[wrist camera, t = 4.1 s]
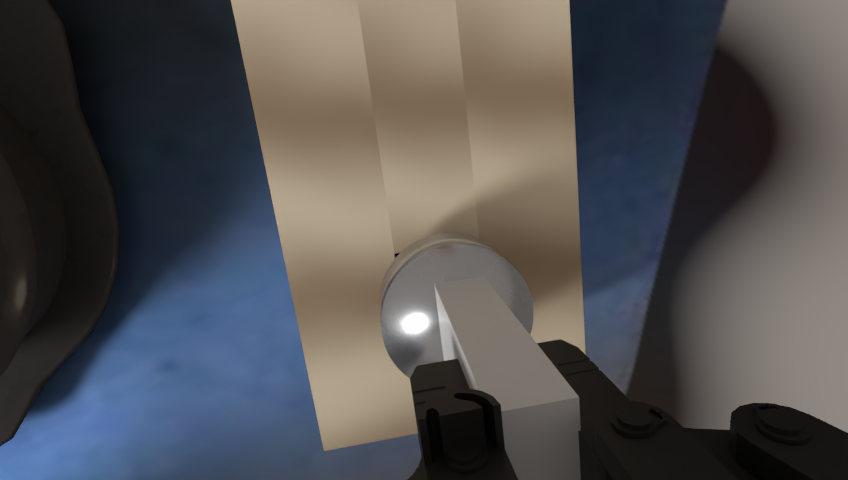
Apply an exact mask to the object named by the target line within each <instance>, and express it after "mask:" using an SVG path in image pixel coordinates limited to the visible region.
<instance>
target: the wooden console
mask: <svg viewBox="0 0 848 480" xmlns="http://www.w3.org/2000/svg"><path fill="white" fill-rule="evenodd" d="M231 3H232V8H233V13H234V18H235V23H236V28H237V32H238V37H239V42H240V47H241V52H242V57H243V61H244V66H245V71H246V76H247V81H248V86H249V91H250V95H251V100H252V105H253V110H254V115H255V120H256V124H257V129H258V134H259V139H260V144H261V149H262V153H263V158H264V163H265V168H266V173H267V178H268V183H269V187H270V192H271V197H272V202H273V207H274V212H275V216H276V221H277V226H278V231H279V236H280V241H281V245H282V250H283V255H284V260H285V265H286V270H287V275H288V279H289V284H290V289H291V294H292V299H293V304H294V308H295V313H296V318H297V323H298V328H299V333H300V337H301V342H302V347H303V352H304V357H305V362H306V367H307V371H308V376H309V381H310V386H311V391H312V396H313V400H314V405H315V410H316V415H317V420H318V425H319V429H320V434H321V439H322V444H323V449H324V451H328V450H333V449H339V448H344V447H349V446H355V445H360V444H365V443H370V442H376V441H381V440H386V439H392V438H397V437H402V436H408V435H413V434H418V430H417V424H416V417H415V410H414V403H413V397H412V390H411V383H410V378H408V377H407V376H406V375H404V374H403V373H402V372H401V371H400V370H399V369H398V368H397V366H396V365H395V364H394V363H393V361H392V360H391V358H390V356H389V354H388V353H387V350H386V348H385V345H384V342H383V337H382V331H381V318H380V305H379V297H380V289H381V284H382V281H383V278H384V276H385V274H386V272H387V269H388V268H389V266H390V265H391V263H392V262H393V260H394V259H395V255H394V254H396V253H401V252H402V251H403V250H404V249H405V248H406V247H408V246H409V245H411V244H412V243H414V242H416V241H418V240H420V239H422V238H424V237H427V236H430V235H434V234H439V233H448V232H450V233H462V234H467V235H470V236H473V237H476V238H478V239H480V240H482V241H484V242H486V243H487V244H489V245H490V246H491V247H493V248H494V249H495V250H496V251H497V252H498V253H499V254H500V255H501V256H503V257H504V258H505V259H506V260H507V261H508V262H509V263H510V264H511V265H512V266H514V267H515V269H516V270H517V271H518V272H519V273H520V274H521V276H522V277H523V279H524V281H525V282H526V284H527V286H528V289H529V291H530V294H531V298H532V302H533V317H534V318H533V326H532V331H531V334H530V336H531V337H532V338H533V339H534V341H535V342H536V343H542V342H547V341H553V340H559V339H561V340H564V341H566V342H568V343H570V344H572V345H574V346H576V347H578V348H579V349H580V350H581V351H582V352H583V353H584V354H585V355H586V353H585V331H584V309H583V287H582V266H581V244H580V222H579V200H578V179H577V157H576V135H575V113H574V92H573V70H572V48H571V26H570V4H569V0H231Z"/></svg>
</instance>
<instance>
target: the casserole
mask: <svg viewBox="0 0 848 480" xmlns="http://www.w3.org/2000/svg"><path fill="white" fill-rule="evenodd" d="M119 240H120V226H119V221H118V215H117V209H116V203H115V197H114V192H113V188H112V186H111V183H110V181H109V178H108V175H107V173H106V170H105V168H104V165H103V163H102V160H101V158H100V155H99V153H98V150H97V148H96V145H95V143H94V140H93V138H92V135H91V133H90V130H89V128H88V126H87V123H86V121H85V118H84V116H83V113H82V111H81V106H80V101H79V95H78V90H77V84H76V79H75V73H74V67H73V63H72V59H71V54H70V50H69V46H68V42H67V38H66V33H65V29H64V25H63V23H62V21H61V20H60V18H59V16H58V15H57V13H56V12H55V10H54V9H53V7H52V6H51V4H50V3H49V1H48V0H0V446H1V445H3V444H4V443H6V442H8V441H9V440H11V439H12V438H13V437H14V435H15V434H16V432H17V430H18V429H19V427H20V425H21V423H22V422H23V420H24V418H25V417H26V415H27V413H28V411H29V410H30V408H31V406H32V405H33V403H34V401H35V399H36V398H37V396H38V394H39V393H40V391H41V389H42V387H43V386H44V384H45V383H46V382H47V380H48V379H49V378H50V377H51V376H52V375H53V374H54V373H55V372H56V371H57V370H58V369H59V367H60V366H61V365H62V364H63V363H64V362H65V361H66V360H67V359H68V358H69V357H70V355H71V354H72V353H73V352H74V351H75V350H76V349H77V348H78V347H79V346H80V344H81V343H82V342H83V341H84V340H85V339H86V338H87V337H88V336H89V335H90V333H91V332H92V331H93V329H94V327H95V325H96V323H97V322H98V320H99V318H100V316H101V314H102V313H103V311H104V309H105V307H106V305H107V303H108V302H109V298H110V295H111V291H112V288H113V284H114V280H115V277H116V273H117V270H118V263H119Z"/></svg>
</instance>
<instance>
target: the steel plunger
mask: <svg viewBox="0 0 848 480" xmlns="http://www.w3.org/2000/svg"><path fill="white" fill-rule="evenodd" d="M481 276H484V277H485V279H486V280H487V281H488V282H489V284H490V285H491V286H492V287H493V289H494V290H495V291H496V293H497V294H498V295H499V296H500V298H501V299H502V300H503V301H504V303H505V304H506V305H507V306H508V308H509V309H510V310H511V312H512V313H513V314H514V315H515V317H516V318H517V319H518V320H519V322H520V323H521V324H522V325H523V327H524V328H525V329H526V331H527V332H528V333H529V334H531V331H532V326H533V318H534V317H533V302H532V298H531V294H530V291H529V289H528V286H527V284H526V282H525V281H524V279H523V277H522V276H521V274H520V273H519V272H518V271H517V270H516V269H515V267H514V266H512V265H511V264H510V263H509V262H508V261H507V260H506V259H505V258H504V257H503V256H501V255H500V254H499V253H498V252H497V251H496V250H495V249H494V248H493V247H491V246H490V245H489V244H487V243H486V242H484V241H482V240H480V239H478V238H476V237H473V236H470V235H467V234H462V233H450V232H448V233H439V234H434V235H430V236H427V237H424V238H422V239H420V240H418V241H416V242H414V243H412V244H411V245H409V246H408V247H406V248H405V249H404V250H403V251H402V252H401V253H400V254H399V255H398V256H397V257H396V258H395V259H394V260H393V262H392V263H391V265H390V266H389V268H388V269H387V272H386V274H385V276H384V278H383V281H382V284H381V289H380V297H379V305H380V318H381V331H382V337H383V342H384V345H385V348H386V350H387V353H388V354H389V356H390V358H391V360H392V361H393V363H394V364H395V365H396V366H397V368H398V369H399V370H400V371H401V372H402V373H403V374H404V375H406V376H407V377H408V378H410V377H411V375H412V374H413V372H414V370H415V368H416V366H418V365H424V364H429V363H435V362H441V361H444V357H443V349H442V342H441V334H440V326H439V318H438V310H437V302H436V294H435V286H434V284H437V283H444V282H450V281H456V280H463V279H469V278H475V277H481Z"/></svg>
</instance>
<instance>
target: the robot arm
mask: <svg viewBox="0 0 848 480" xmlns="http://www.w3.org/2000/svg"><path fill="white" fill-rule="evenodd" d="M434 286H435V294H436V302H437V310H438V318H439V326H440V334H441V342H442V349H443V357H444V361H441V362H435V363H429V364H424V365H418V366H416V368H415V370H414V372H413V374H412V375H411V377H410V383H411V390H412V397H413V403H414V410H415V417H416V424H417V430H418V437H419V443H420V449H421V455H422V458H421V461H420V464H419V467H418V468H417V469H416V471H415V472H414V474H413V475H412V476H411V477H410V478H409V479H408V480H848V433H846V432H844V431H842V430H840V429H838V428H836V427H834V426H832V425H830V424H828V423H826V422H824V421H822V420H820V419H817V418H815V417H813V416H811V415H809V414H806V413H804V412H801V411H798V410H796V409H793V408H790V407H785V406H780V405H777V404H769V403H752V404H748V405H743V406H739V407H738V408H737V409H736V410H734V411H733V412H732V413H731V421H730V430H715V429H714V430H713V429H692V428H683V427H682V426H681V425H680V424H679V423H678V422H677V421H676V420H675V419H674V418H673V417H672V416H670V415H669V414H667V413H666V412H664V411H663V410H661V409H660V408H657V407H654V406H652V405H649V404H646V403H641V402H635V401H630V400H629V399H628V398H627V397H626V396H625V395H624V394H623V393H622V392H621V391H620V390H619V389H618V388H617V387H616V386H615V385H614V384H613V383H612V382H611V381H610V380H609V379H608V378H607V377H606V376H605V375H604V373H603V372H602V371H599V368H598V367H597V366H596V365H595V364H594V363H593V362H592V361H590V360H589V358H588V357H587V356H586V355H585V354H584V353H583V352H582V351H581V350H580V349H579V348H578V347H576V346H574V345H572V344H570V343H568V342H566V341H564V340H561V339H559V340H553V341H547V342H542V343H536V342H535V341H534V339H533V338H532V337H531V336H530V334H529V333H528V332H527V331H526V329H525V328H524V327H523V325H522V324H521V323H520V322H519V320H518V319H517V318H516V317H515V315H514V314H513V313H512V312H511V310H510V309H509V308H508V306H507V305H506V304H505V303H504V301H503V300H502V299H501V298H500V296H499V295H498V294H497V293H496V291H495V290H494V289H493V287H492V286H491V285H490V284H489V282H488V281H487V280H486V279H485V277H484V276H481V277H475V278H469V279H463V280H456V281H450V282H444V283H437V284H434Z"/></svg>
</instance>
